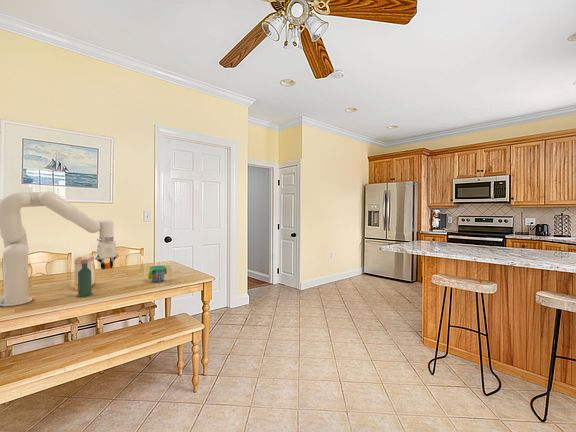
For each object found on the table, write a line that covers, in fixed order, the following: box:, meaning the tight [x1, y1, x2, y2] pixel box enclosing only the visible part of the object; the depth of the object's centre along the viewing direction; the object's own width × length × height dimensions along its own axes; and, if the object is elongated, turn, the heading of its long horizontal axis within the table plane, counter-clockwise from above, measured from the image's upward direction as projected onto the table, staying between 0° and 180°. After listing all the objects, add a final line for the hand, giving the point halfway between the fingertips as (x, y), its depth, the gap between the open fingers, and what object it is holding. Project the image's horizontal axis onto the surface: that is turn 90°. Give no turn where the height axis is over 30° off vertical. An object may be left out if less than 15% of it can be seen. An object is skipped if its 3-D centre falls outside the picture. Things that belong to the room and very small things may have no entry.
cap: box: [104, 262, 111, 270], centre depth 178 cm, size 4×4×3 cm
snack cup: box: [147, 265, 168, 283], centre depth 198 cm, size 16×10×10 cm
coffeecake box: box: [74, 254, 95, 291], centre depth 182 cm, size 15×7×20 cm, turn 21°
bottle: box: [77, 263, 93, 298], centre depth 165 cm, size 6×6×19 cm
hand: (106, 268), depth 177 cm, fingers closed on cap, 3 cm apart
